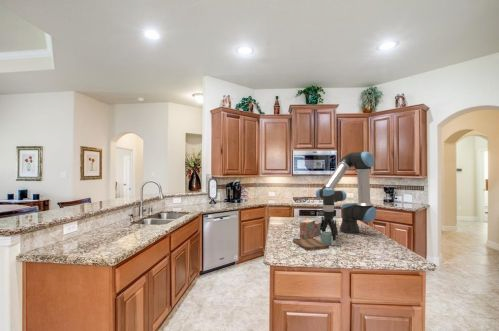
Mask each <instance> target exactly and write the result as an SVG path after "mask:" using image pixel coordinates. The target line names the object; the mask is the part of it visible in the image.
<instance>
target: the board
mask: <svg viewBox="0 0 499 331" xmlns="http://www.w3.org/2000/svg"><path fill="white" fill-rule="evenodd" d="M292 242H293V243H294V244H296V245H297V246H299V248H300V247H301V248H302V249H304V250H306V251H307V250H308V251H316V250H317V249H318V250H326V249H327V248H328V249H330V245H326V244H324V243H322V242H321V241H320V240H318V239H316V238H314V237H311V238H300V237H299V238H293V239H292Z"/></svg>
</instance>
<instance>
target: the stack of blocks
mask: <svg viewBox="0 0 499 331" xmlns="http://www.w3.org/2000/svg"><path fill="white" fill-rule="evenodd" d="M320 226H321V221H316V219H309V218H307V219H305V220H301V221H299V239H300V238H311V237H313V238H314V237H316V235H317V236H319V235H321V232H322V231H321V230H320Z"/></svg>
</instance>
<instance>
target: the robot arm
mask: <svg viewBox="0 0 499 331" xmlns="http://www.w3.org/2000/svg"><path fill="white" fill-rule="evenodd" d="M375 160H376V159H375V157H374V154H372V152H370V151H360V152H358V151H355V152H349V153H347V154H345V155H344V156H343V157H342V158H341V159H340V160H339V161H338V163H337V166H336V168H335V169H334V171H332V172H333V173H331V175H330V176H329V178H328V180H327V181H326V182H325V184H324V185H323V187H322V188H318V189H316V192H315V196H316V198H317V199H320V200H322V217H321V221H320V222H321V226H320V230H321V232H327V228H328V226H329V228H330V232H331V233H332V235H331V245H330V246H336V244H335V241H336V242H337V236H339V233H338V231H339V232H342V233H345V234H359V233H360V228H359V224H358V221H360V222H364V223H372V222H374V220H376V217H377V214H378V213H377V209H376V208H375V207H374V204H373V203H372V202H371V183H370V171H371V170H372V167H374V166H375ZM351 168H354V170H355V171H356V172H357V176H356V178H357V194H358V195H357V199H358V200H357V202H351V203H350V202H347V203H346V202H345V203H342V205H341V224H340V227H339V230H338V226H337V220H336V219H334V217H335V202H343V201H346V199H347V193H346V192H345V191H344V190H335V189H336V187H337V185H338V184H339V182H340V181H341V179H342V178H343V177H344V175H345V174H346V173H347V172H348V171H349V170H350V169H351ZM333 233H334V234H333Z"/></svg>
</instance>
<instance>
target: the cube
mask: <svg viewBox="0 0 499 331" xmlns="http://www.w3.org/2000/svg"><path fill="white" fill-rule="evenodd" d="M333 234H334V233H333ZM320 235H321V238H320V239H321V241H320V242H322V243H324V244H326V245H329V246H332V245H331V235H332V233H331V231H326V232H322V231H321V234H320ZM335 245H337V240H336V241H335Z"/></svg>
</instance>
